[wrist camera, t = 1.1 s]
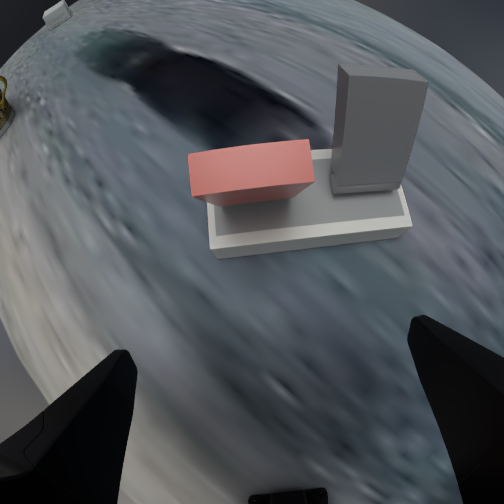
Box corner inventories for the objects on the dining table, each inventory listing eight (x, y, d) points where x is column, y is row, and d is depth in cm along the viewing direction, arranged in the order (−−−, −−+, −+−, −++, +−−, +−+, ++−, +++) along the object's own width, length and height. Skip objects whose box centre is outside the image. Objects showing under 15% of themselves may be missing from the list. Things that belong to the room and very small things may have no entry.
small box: (71, 11, 41) (64, -2, 36) (71, 17, 39) (63, 4, 35) (51, 24, 40) (43, 11, 36) (50, 31, 39) (41, 18, 34)
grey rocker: (397, 194, 20) (428, 82, 12) (334, 199, 20) (349, 75, 12) (388, 178, 21) (413, 70, 13) (328, 182, 21) (338, 64, 13)
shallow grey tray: (397, 237, 23) (412, 225, 20) (217, 259, 23) (209, 249, 20) (378, 164, 24) (388, 146, 22) (212, 180, 25) (205, 162, 22)
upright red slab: (290, 199, 21) (315, 181, 12) (221, 207, 21) (192, 196, 12) (287, 174, 21) (308, 139, 11) (218, 182, 21) (187, 154, 12)
